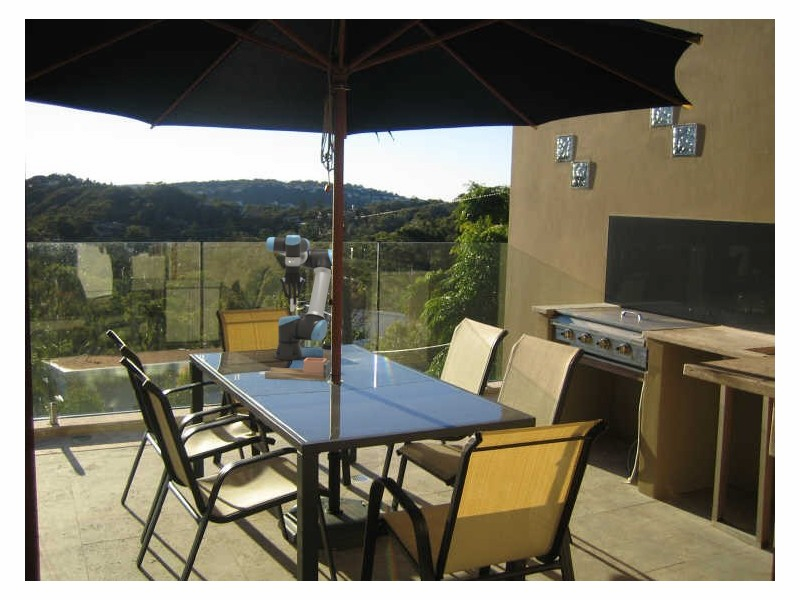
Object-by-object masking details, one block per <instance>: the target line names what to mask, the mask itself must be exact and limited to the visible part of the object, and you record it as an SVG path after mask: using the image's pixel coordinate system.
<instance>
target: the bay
mask: <svg viewBox="0 0 800 600" xmlns="http://www.w3.org/2000/svg"><path fill="white" fill-rule="evenodd" d="M269 369H270V370H269V371H265V372H264V379H273V380H274V379H275V380H277V379H278V380H291V379H293V380H295V381H311V380H317V381H316V382H327V380H328V379H329V378H330V377H331V375H330V360H328V361H327V362H326V363H325V364H324V370H323V375H322V374H303V368H286V367H284V368H283V367H269ZM329 376H330V377H329Z"/></svg>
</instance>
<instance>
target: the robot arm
mask: <svg viewBox="0 0 800 600" xmlns="http://www.w3.org/2000/svg"><path fill="white" fill-rule="evenodd" d="M310 247H311V243H310V241H309V240H308V239H307V238H304V237H301V236H300V235H297V234H296V235H295V234H288V235H286V236H285V237H275V236H272V237H271V236H270V237H268V238H267V239H266V243H265V248H266V250H267V251H268V252H272V253H274V252H275V253H278V254H280V255H282V256H284V257H285V262H284V263H285V266H284V267H285V269H284V270H285V271H284V272H285V273H284V277H283V276H282V278H280V279H279V281H280V283H281V285H282V290H283V293H284V297H285V298H287V299H288V302H287V303H288V305H289V306H290V310H289V311H290V312H295V306H296V305H297V299H299V298H300V297H301V294H302V290H303V286H304V283H305V281H306V279H304V278H303V277H302V275H301V267H302V268H305V269H309V270H313V273H315V275H314V280H313V286H312V290H311V295H310V296H311V297H310V300H309V306H308V310H307V313H305V314H304V316H303V318H301V316H300V315H287V316H283V317H280V318H279V320H278V327H277V328H278V332H277V333H278V334H277V335H278V336H277V337H278V343H277V346H276V350H275V353H274V358H275V359H277V360H282V361H283V360H284V361H286V360H287V361H288V360H289V361H292V360H293V361H294V360H301V359H303V351H302V349H301V345H300V341H309V342H310V341H311V342H321V341H323V340H324V339H325V337H326V335H327V332H328V322H327V320H326V317H325V316H324V313H325V308H326V303H327V297H328V293H329V287H330V282H331V277H332V276H333V275H331V266H332V250H333V249H330V248H327V249H326V248H325V249H324V248H323V249H321V248H310ZM286 282H287V283H288V284H287V285H288V288H287V285H286ZM298 282H300V283H299V287H298V288H297V285H298ZM292 287H293V289H292ZM297 289H298V291H297ZM292 290H293V291H292ZM292 293H293V294H292Z"/></svg>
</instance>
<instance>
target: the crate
mask: <svg viewBox="0 0 800 600" xmlns="http://www.w3.org/2000/svg"><path fill="white" fill-rule="evenodd" d="M326 362H327V359H325V358H323V357H321V358H320V357H306V358H305V359H303V365H302V369H303V374H322V375H323V370H324V364H325V363H326Z"/></svg>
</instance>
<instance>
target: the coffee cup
mask: <svg viewBox="0 0 800 600" xmlns="http://www.w3.org/2000/svg"><path fill="white" fill-rule="evenodd" d="M331 343H332V342H328V343H327V342H325V343H323V344H322V346H321V349H322V358H325V359H327V361H328V360H330V372H331Z"/></svg>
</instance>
